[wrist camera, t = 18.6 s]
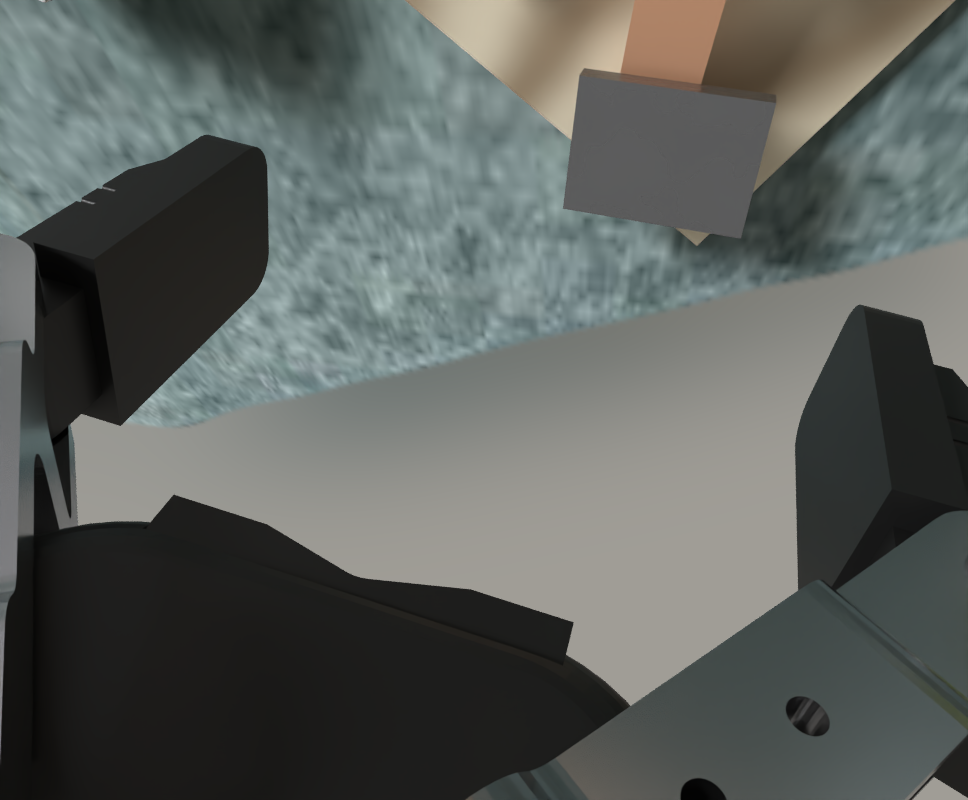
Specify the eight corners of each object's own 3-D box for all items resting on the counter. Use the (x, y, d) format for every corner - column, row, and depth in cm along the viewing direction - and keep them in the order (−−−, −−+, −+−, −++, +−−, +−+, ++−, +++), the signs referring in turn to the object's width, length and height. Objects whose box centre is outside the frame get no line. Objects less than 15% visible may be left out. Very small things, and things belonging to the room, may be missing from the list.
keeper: (603, 39, 35) (579, 75, 31) (776, 62, 34) (776, 103, 30) (586, 161, 38) (563, 208, 34) (745, 185, 37) (740, 238, 33)
